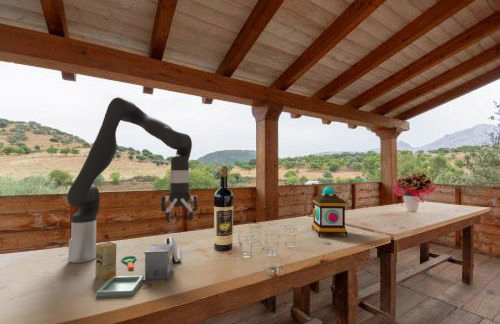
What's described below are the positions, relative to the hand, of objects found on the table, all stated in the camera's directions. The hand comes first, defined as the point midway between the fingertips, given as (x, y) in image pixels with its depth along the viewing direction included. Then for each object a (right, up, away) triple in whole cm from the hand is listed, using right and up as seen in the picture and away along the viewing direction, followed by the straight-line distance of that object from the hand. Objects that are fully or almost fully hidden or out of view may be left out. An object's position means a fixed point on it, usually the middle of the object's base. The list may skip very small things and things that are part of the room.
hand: (179, 221), depth 99 cm
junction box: (-6, -20, -6) cm, 21 cm away
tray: (-15, -19, -16) cm, 29 cm away
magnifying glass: (-23, -20, +5) cm, 31 cm away
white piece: (-7, -20, +13) cm, 25 cm away
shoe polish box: (-26, -20, -7) cm, 33 cm away
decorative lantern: (+78, -21, +55) cm, 98 cm away
